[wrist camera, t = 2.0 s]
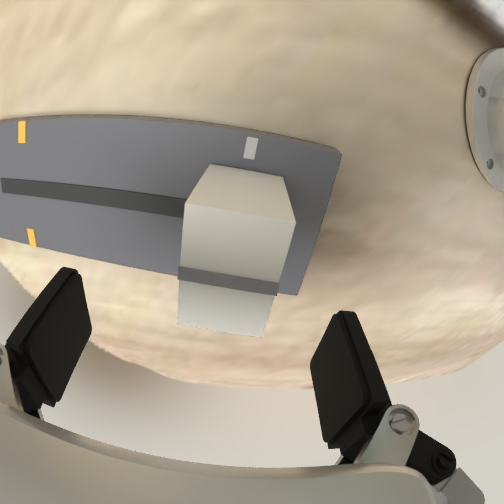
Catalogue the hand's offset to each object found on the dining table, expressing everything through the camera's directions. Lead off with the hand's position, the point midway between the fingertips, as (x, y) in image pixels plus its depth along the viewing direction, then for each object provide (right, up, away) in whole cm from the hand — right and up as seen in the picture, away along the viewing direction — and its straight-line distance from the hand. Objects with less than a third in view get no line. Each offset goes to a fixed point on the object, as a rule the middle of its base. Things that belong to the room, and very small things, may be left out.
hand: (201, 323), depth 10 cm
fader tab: (+1, +4, +7) cm, 8 cm away
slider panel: (-7, +7, +8) cm, 13 cm away
